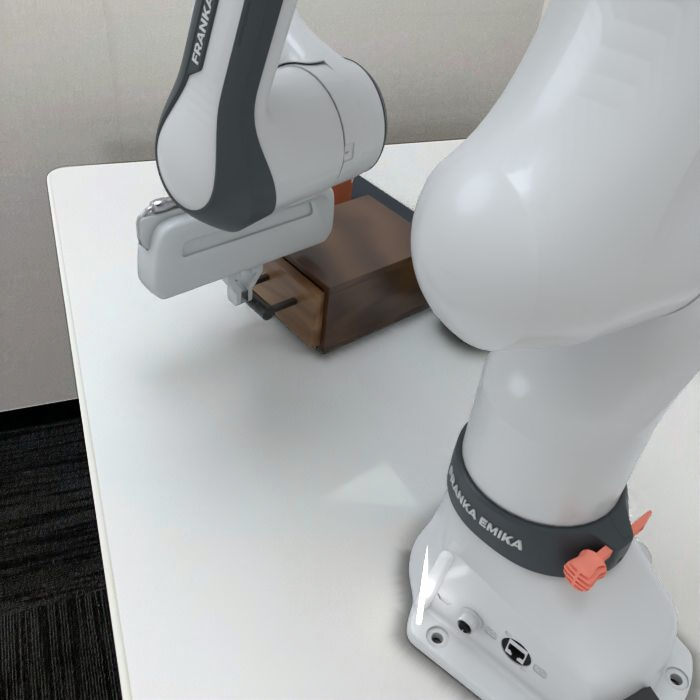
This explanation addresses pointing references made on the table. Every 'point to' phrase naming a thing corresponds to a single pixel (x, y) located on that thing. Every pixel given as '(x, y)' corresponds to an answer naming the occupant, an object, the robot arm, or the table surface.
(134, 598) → the table surface
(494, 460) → the robot arm
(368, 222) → the cabinet
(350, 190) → the orange cylinder
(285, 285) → the drawer
